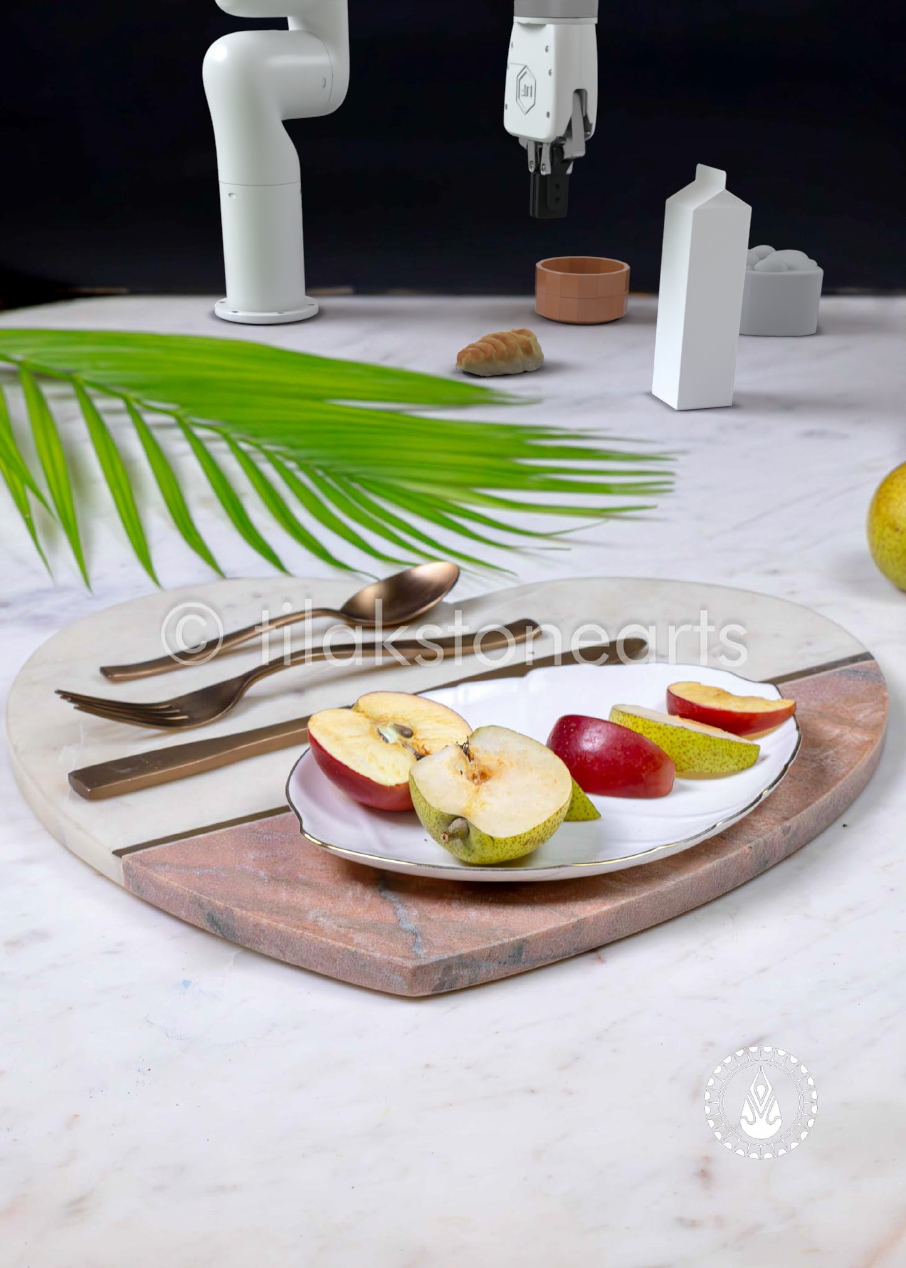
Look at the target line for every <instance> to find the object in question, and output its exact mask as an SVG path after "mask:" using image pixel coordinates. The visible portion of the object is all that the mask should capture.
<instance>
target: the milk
mask: <svg viewBox="0 0 906 1268" xmlns="http://www.w3.org/2000/svg"><path fill="white" fill-rule="evenodd" d="M695 171H696V172H695V180H694V181H692V182H691V183H689V184H687V185H686V186H685V187H683V188H682V189H679V191H677V192H676V193H674V194H672V195H671V196H670V197H668V198H666V200H665V209H664V222H663V223H664V224H663V226H664V227H663V235H662V236H663V238H662V249H661V250H662V251H661V263H660V264H661V265H660V277H659V278H660V279H659V291H658V304H657V305H658V306H657V316H656V317H657V318H656V332H655V333H656V334H655V344H654V345H655V347H654V359H653V373H652V375H653V376H652V386H651V394H652V395H653V396H655V397H656V398H658V399H659V400H660V401H663V402H664V403H665V404H666V405H668V406H670V408H672V409H674V410H676V411H687V410H697V409H698V410H699V409H710V408H720V407H721V408H722V407H731V406H733V397H734V389H735V388H734V387H735V377H736V367H737V358H738V347H739V337H740V334H739V329H740V319H741V309H742V299H743V289H744V279H745V269H746V259H747V249H749V238H750V228H751V219H752V209H753V208H752V206H751V205H749V204H748V203H746V202H745V201H743V200H742V199H741V198H740V197H738V196H736V195H734V194H733V193H731V192H730V191H729V190H727V189H726V182H727V173H726V171H725V170H721V169H719V168H715V167H711V166H708V165H705V164H701V163H698V164H697V165H696V170H695Z"/></svg>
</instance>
